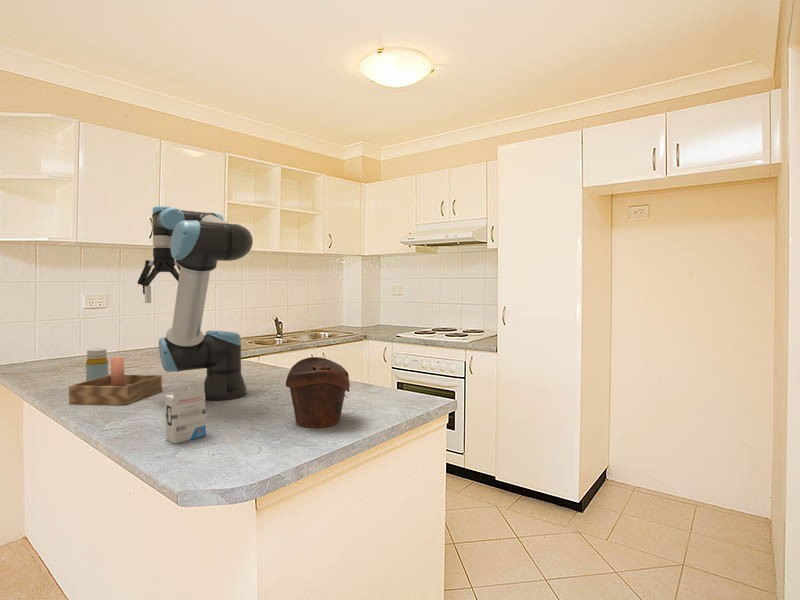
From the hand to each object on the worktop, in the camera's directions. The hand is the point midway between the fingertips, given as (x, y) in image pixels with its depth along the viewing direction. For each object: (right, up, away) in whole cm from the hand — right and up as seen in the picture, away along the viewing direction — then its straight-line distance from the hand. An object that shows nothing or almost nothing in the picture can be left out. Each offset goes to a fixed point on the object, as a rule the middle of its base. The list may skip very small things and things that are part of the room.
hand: (164, 303), depth 176 cm
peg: (-9, -33, -14) cm, 37 cm away
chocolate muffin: (+67, -35, -42) cm, 86 cm away
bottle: (-25, -33, -1) cm, 42 cm away
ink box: (+35, -35, -57) cm, 75 cm away
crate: (-9, -33, -14) cm, 37 cm away
